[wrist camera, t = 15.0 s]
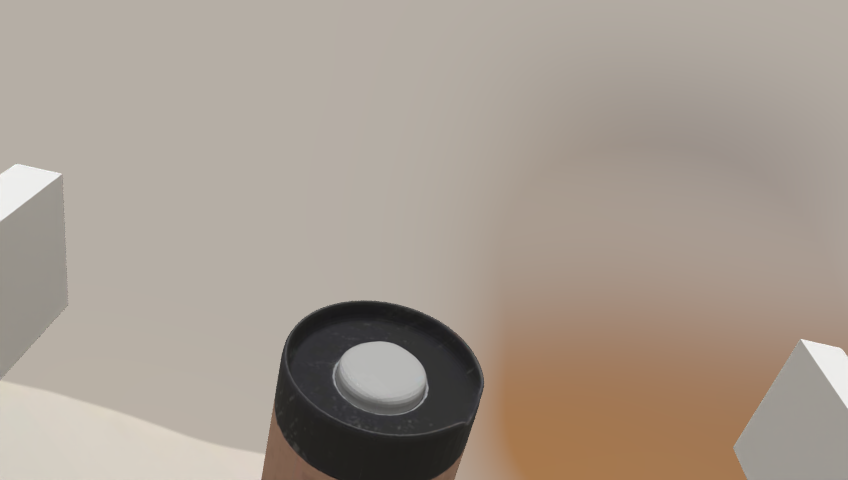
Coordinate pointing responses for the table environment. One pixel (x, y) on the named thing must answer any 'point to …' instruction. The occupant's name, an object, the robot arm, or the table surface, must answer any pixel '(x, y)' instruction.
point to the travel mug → (372, 397)
